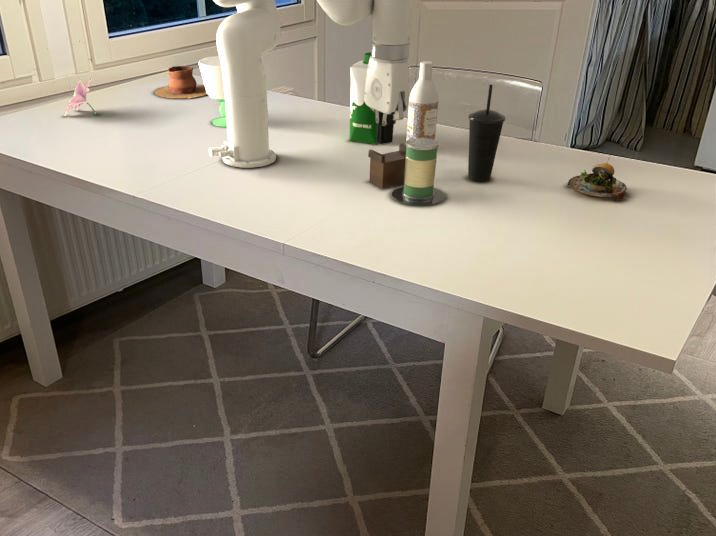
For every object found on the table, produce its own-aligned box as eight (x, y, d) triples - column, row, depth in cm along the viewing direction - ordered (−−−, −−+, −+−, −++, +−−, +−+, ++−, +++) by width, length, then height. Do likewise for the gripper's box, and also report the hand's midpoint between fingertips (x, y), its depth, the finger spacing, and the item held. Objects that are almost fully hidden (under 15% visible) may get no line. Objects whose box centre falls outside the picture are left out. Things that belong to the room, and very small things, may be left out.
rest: (380, 189, 152) (381, 156, 148) (367, 182, 156) (368, 149, 152) (413, 181, 156) (416, 149, 152) (400, 175, 160) (402, 143, 156)
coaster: (412, 210, 143) (412, 208, 143) (381, 193, 151) (381, 191, 151) (455, 199, 148) (455, 198, 147) (422, 183, 155) (422, 182, 155)
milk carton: (388, 135, 184) (393, 53, 173) (377, 146, 177) (381, 60, 166) (356, 132, 187) (359, 50, 175) (344, 142, 180) (346, 57, 168)
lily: (99, 109, 209) (77, 80, 204) (117, 100, 200) (95, 69, 195) (70, 132, 203) (47, 102, 198) (87, 123, 194) (64, 91, 190)
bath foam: (418, 154, 172) (424, 66, 160) (400, 147, 176) (405, 61, 165) (439, 149, 175) (447, 63, 163) (421, 142, 179) (428, 58, 168)
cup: (264, 120, 196) (261, 59, 187) (233, 132, 187) (228, 68, 178) (225, 112, 202) (220, 53, 193) (193, 124, 193) (187, 62, 184)
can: (407, 213, 149) (438, 178, 138) (380, 167, 151) (408, 128, 140) (430, 206, 152) (462, 171, 141) (403, 161, 154) (432, 122, 143)
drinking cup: (498, 175, 160) (512, 82, 148) (493, 186, 154) (507, 90, 142) (464, 171, 162) (475, 79, 150) (458, 182, 156) (469, 87, 144)
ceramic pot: (146, 97, 216) (142, 73, 212) (165, 83, 231) (163, 60, 227) (202, 100, 214) (200, 75, 210) (219, 86, 228) (217, 62, 224)
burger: (555, 186, 154) (562, 152, 149) (598, 179, 157) (606, 145, 153) (593, 206, 144) (601, 170, 140) (638, 197, 148) (647, 162, 144)
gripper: (354, 46, 147) (351, 135, 157) (396, 60, 136) (390, 155, 146) (384, 43, 150) (379, 130, 160) (427, 57, 139) (419, 149, 150)
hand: (384, 142), depth 153 cm, fingers closed
